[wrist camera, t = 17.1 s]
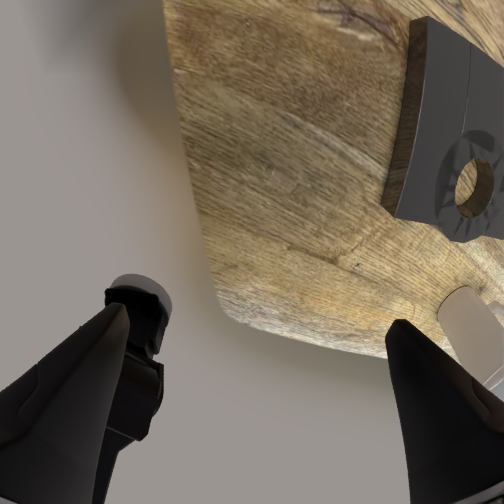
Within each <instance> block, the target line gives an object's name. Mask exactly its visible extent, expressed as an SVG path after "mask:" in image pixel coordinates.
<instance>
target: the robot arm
mask: <svg viewBox="0 0 504 504" xmlns="http://www.w3.org/2000/svg"><path fill="white" fill-rule="evenodd" d="M108 292H109V293H108ZM104 293H105V297H106V300H107V304H106V306H105V308H104V309H103V310H102V311H101V312H99V313H98V314H97V315H96V316H94V317H93V318H92V319H90V320H89V321H88V322H87V323H85V324H84V325H83V326H80V327H79V329H78V330H76V331H75V332H74V333H73V334H71V335H70V336H69V337H68V338H66V339H65V340H64V341H63V342H62V343H60V344H59V345H58V346H57V347H55V348H54V349H53V350H52V351H51V352H49V353H48V354H47V355H46V356H45V357H43V358H42V359H41V360H40V361H39V362H38V364H35V365H34V366H33V367H32V368H30V369H29V370H28V371H27V372H26V373H25V374H23V375H22V376H21V377H20V378H18V379H17V380H16V381H14V382H13V383H12V384H10V385H9V386H8V387H6V388H5V389H4V390H2V391H1V392H0V504H104V502H105V498H106V494H107V490H108V487H109V483H110V479H111V476H112V472H113V468H114V465H115V461H116V458H117V455H118V453H119V451H121V450H122V449H123V448H125V447H126V446H128V445H129V444H130V443H132V442H133V441H135V440H136V441H141V440H143V439H144V438H145V437H146V436H147V434H148V431H149V427H150V422H151V419H152V417H153V416H154V415H155V414H156V412H157V411H158V409H159V407H160V405H161V402H162V399H163V392H164V386H163V385H164V365H163V364H161V363H157V362H156V361H154V360H152V359H153V355H154V354H155V355H157V354H158V353H159V351H160V347H161V343H162V340H163V336H164V333H165V329H166V325H165V319H164V313H163V312H162V311H161V308H160V301H159V297H158V295H156V294H151V293H143V292H135V291H127V290H119V289H112V288H107V289H106V290H105V292H104ZM153 298H155V299H153ZM385 344H386V350H387V356H388V362H389V369H390V376H391V381H392V385H393V390H394V394H395V399H396V403H397V408H398V413H399V418H400V423H401V429H402V435H403V441H404V446H405V454H406V461H407V469H408V479H409V490H410V504H504V402H503V401H501V400H500V399H499V398H498V397H497V396H495V395H494V394H493V393H492V392H490V391H489V390H488V389H487V388H485V387H484V386H483V385H482V384H481V383H480V382H479V381H477V380H476V379H475V378H474V377H473V376H471V374H470V373H469V372H467V371H466V370H465V369H464V368H463V367H462V366H461V365H460V364H458V363H457V362H456V361H455V360H454V359H453V358H452V357H450V356H449V355H448V354H447V353H446V352H445V351H443V350H442V349H441V348H440V347H439V346H438V345H436V344H435V343H434V342H433V341H432V340H430V339H429V338H428V337H427V336H426V335H424V334H423V333H422V332H421V331H420V330H418V329H417V328H416V327H415V326H414V325H412V324H411V323H410V322H409V321H407V320H406V319H396V320H395V321H394V322H393V323H392V325H391V327H390V329H389V330H388V332H387V334H386V336H385Z"/></svg>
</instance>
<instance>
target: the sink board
mask: <svg viewBox="0 0 504 504" xmlns="http://www.w3.org/2000/svg"><path fill="white" fill-rule="evenodd" d="M472 159H475V161H476V165H477V168H478V181H477V184H476V188H475V191H474V193H473V194H472V196H471V197H470V199H469V200H468V201H467V202H465V203H464V204H463V205H461V206H456V203H455V188H456V185H457V181H458V178H459V175H460V173H461V172H462V170H463V168H464V166H465V165H466V164H467V163H469V162H470V161H471V160H472ZM381 206H382V207H383V208H384V209H385V210H386V211H388V212H389V213H390V214H391V215H392V216H393V217H394V218H398V219H404V220H409V221H415V222H420V223H426V224H431V225H434V226H435V227H436V228H437V229H438V230H439V231H440V232H441V233H442V234H443V235H445V236H446V237H447V238H448V239H449V240H450V241H454V242H460V243H465V242H468V241H471V240H473V239H476V238H478V237H479V236H481V235H483V236H488V237H492V238H496V239H500V240H503V239H504V68H503V67H502V66H500V65H499V64H498V63H497V62H496V61H494V60H493V59H492V58H491V57H490V56H488V55H487V54H486V53H484V52H483V51H482V50H481V49H479V48H478V47H477V46H475V45H474V44H472V43H471V42H469V41H468V40H467V39H465V38H464V37H462V36H461V35H459V34H458V33H456V32H455V31H453V30H451V29H450V28H448V27H447V26H445V25H443V24H442V23H440V22H438V21H436V20H435V19H433V18H431V17H429V16H424V17H421V18H418V19H414V20H411V22H410V44H409V57H408V68H407V77H406V85H405V93H404V100H403V106H402V112H401V118H400V124H399V129H398V134H397V139H396V144H395V149H394V154H393V158H392V162H391V167H390V171H389V175H388V179H387V183H386V187H385V190H384V194H383V198H382V201H381Z"/></svg>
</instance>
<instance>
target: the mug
mask: <svg viewBox="0 0 504 504" xmlns="http://www.w3.org/2000/svg"><path fill="white" fill-rule="evenodd" d="M494 314H498V315H502V316H504V306H503V305H502V304H500V303H499V302H497V301H493V302H492V303H490V304H488V305H486V304H485V303H484V302H483V300H482V299H481V298H480V297H479V296H478V294H477V293H476V292H475V291H474V290H473V289H472V288H471V287H469V286H464V287H461V288H459V289H457V290H455V291H454V292H453V293H452V294H450V295H449V296H448V297H447V298H446V299H445V301H444V302H443V303H442V305H441V307H440V308H439V311H438V314H437V319H438V322H439V324H440V325H441V327H442V329H443V331H444V333H445V335H446V336H447V338H448V340H449V342H450V344H451V346H452V347H453V349H454V351H455V353H456V355H457V357H458V359H459V361H460V363H461V365H462V367H463V368H464V369H465V370H466V371H467V372H469V373H470V374H471V376H473V377H474V378H475V379H476V380H477V381H479V382H480V383H481V384H482V385H483V386H484V387H485V388H487V389H488V390H491V389H492V388H493V387H495V386H496V385H497V384H499V383H500V382H501V381H502V380H503V379H504V328H503V326H502V325H501V324H500V322H499V321H498V320H497V318H496V317H495V316H494Z"/></svg>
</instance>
